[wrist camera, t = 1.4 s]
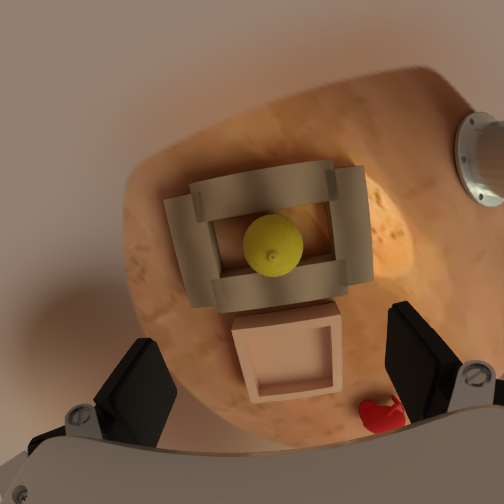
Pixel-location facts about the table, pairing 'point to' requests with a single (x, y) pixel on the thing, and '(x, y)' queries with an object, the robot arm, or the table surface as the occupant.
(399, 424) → the cap
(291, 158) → the table surface
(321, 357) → the tray
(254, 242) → the lemon
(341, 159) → the table surface
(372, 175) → the table surface
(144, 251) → the table surface
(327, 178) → the rectangular open frame
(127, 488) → the robot arm
